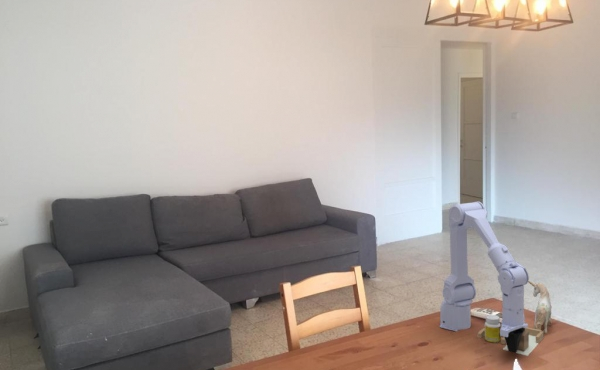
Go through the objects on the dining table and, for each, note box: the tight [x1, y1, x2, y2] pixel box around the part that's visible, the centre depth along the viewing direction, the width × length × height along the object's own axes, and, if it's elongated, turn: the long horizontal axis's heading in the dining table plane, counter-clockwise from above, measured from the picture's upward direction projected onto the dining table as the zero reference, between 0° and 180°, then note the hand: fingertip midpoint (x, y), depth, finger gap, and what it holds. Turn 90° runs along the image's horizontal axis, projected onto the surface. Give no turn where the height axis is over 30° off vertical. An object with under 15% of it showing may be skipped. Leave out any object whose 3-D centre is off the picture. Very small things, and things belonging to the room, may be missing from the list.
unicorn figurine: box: [528, 280, 553, 334], centre depth 165 cm, size 7×20×13 cm, turn 166°
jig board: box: [476, 326, 545, 357], centre depth 156 cm, size 16×16×3 cm
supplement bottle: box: [484, 314, 502, 344], centre depth 156 cm, size 5×5×8 cm
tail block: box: [518, 330, 529, 352], centre depth 150 cm, size 4×4×5 cm
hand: (512, 351), depth 146 cm, fingers closed
